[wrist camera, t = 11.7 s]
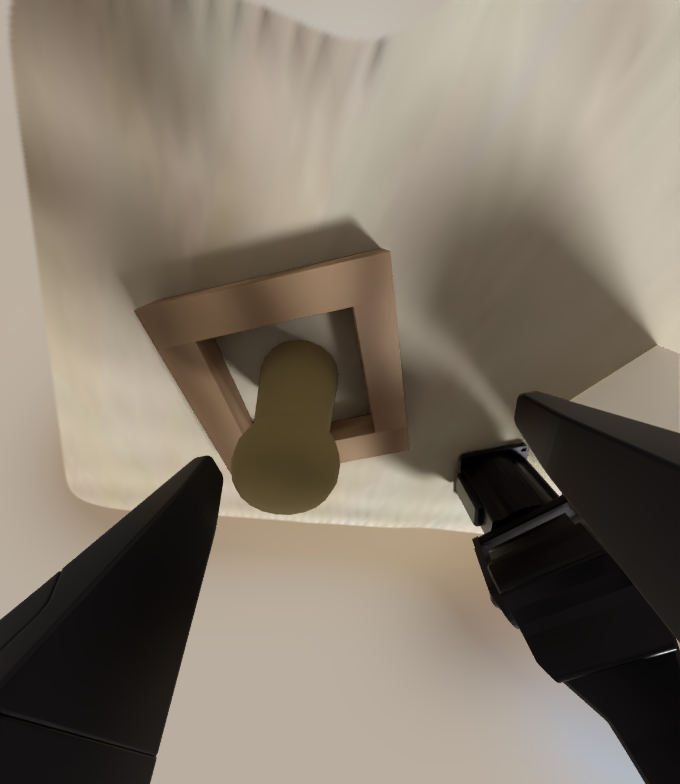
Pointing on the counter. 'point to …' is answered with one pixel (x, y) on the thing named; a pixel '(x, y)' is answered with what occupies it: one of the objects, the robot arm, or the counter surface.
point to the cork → (290, 433)
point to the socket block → (276, 305)
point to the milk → (641, 390)
